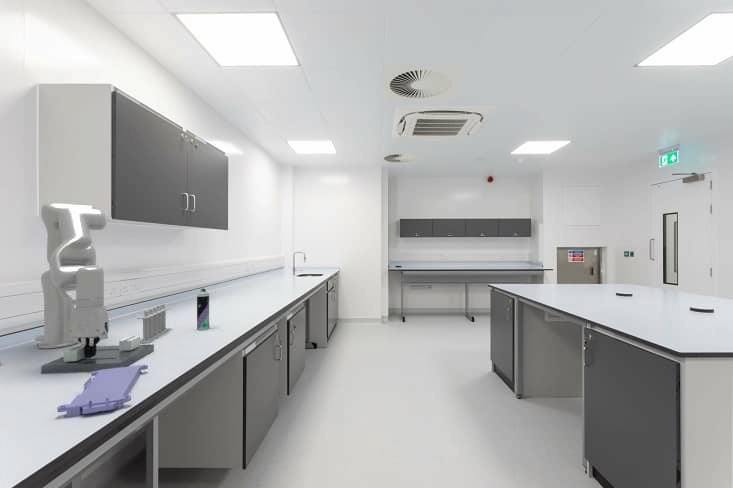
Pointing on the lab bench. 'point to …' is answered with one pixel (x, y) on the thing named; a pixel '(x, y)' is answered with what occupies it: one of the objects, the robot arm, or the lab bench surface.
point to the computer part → (104, 391)
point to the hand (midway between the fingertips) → (90, 356)
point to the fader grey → (129, 343)
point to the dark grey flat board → (99, 360)
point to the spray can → (203, 310)
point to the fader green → (74, 353)
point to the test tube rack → (154, 323)
